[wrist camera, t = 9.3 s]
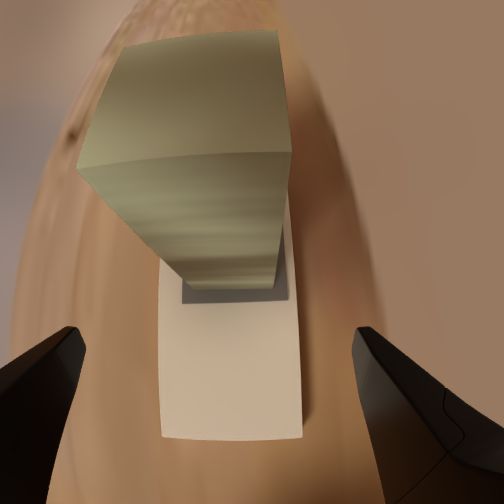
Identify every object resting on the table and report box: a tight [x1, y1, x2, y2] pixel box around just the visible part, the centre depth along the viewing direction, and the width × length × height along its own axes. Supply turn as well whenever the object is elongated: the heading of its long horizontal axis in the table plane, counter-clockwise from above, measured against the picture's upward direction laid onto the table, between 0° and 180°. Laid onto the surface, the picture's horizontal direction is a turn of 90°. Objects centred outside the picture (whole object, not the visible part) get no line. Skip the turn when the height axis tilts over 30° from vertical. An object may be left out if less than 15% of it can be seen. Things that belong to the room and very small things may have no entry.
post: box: [76, 30, 292, 290], centre depth 12 cm, size 4×4×12 cm
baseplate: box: [158, 189, 302, 441], centre depth 18 cm, size 16×8×1 cm, turn 2°
